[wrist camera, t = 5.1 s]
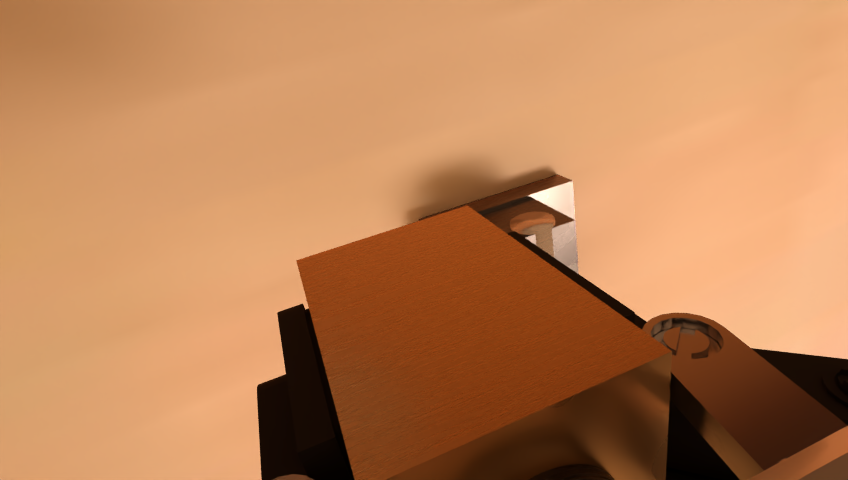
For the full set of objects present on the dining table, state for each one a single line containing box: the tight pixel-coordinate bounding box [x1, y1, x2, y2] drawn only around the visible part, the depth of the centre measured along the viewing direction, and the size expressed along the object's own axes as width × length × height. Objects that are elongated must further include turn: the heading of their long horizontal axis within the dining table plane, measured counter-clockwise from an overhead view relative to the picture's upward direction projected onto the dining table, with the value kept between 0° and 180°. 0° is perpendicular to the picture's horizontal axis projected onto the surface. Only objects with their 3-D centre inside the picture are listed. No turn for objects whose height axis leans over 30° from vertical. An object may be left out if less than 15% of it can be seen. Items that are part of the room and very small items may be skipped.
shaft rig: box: [419, 175, 578, 273], centre depth 29 cm, size 20×9×6 cm, turn 11°
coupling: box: [296, 206, 672, 480], centre depth 9 cm, size 4×4×7 cm
